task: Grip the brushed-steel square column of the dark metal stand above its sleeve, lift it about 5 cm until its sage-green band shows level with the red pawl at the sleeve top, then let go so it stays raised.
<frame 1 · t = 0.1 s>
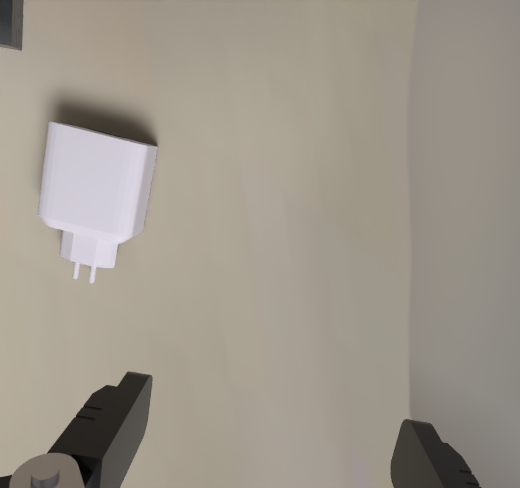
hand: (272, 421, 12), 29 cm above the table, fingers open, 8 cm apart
charger: (105, 206, 41), on the table
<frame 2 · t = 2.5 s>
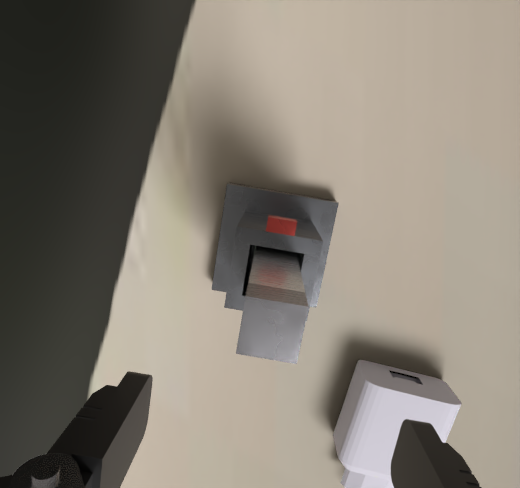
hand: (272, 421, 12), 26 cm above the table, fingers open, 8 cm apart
stand: (273, 244, 37), on the table
column: (272, 277, 27), point 10 cm above the table, slide at 0.0 cm
charger: (376, 428, 42), on the table
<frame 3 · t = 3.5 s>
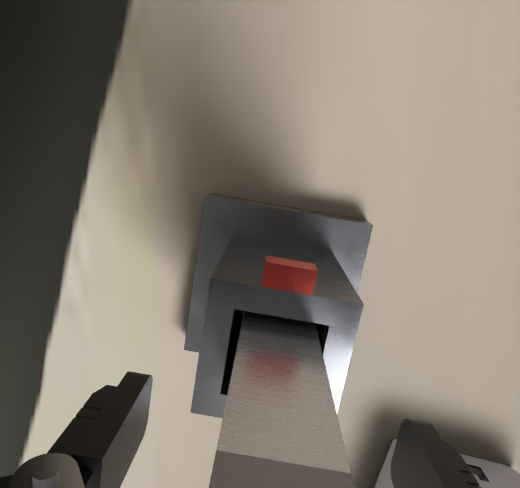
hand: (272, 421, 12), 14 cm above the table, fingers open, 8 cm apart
stand: (274, 282, 26), on the table
column: (273, 367, 15), point 11 cm above the table, slide at 0.0 cm
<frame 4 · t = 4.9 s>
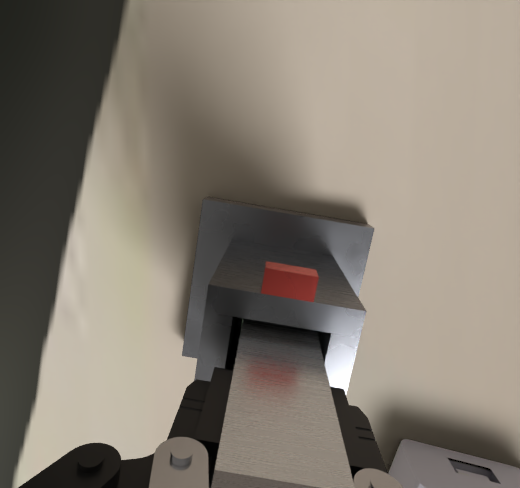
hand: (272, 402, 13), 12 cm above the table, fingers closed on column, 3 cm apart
stand: (273, 286, 25), on the table
column: (273, 376, 15), point 10 cm above the table, slide at 0.0 cm, touching gripper
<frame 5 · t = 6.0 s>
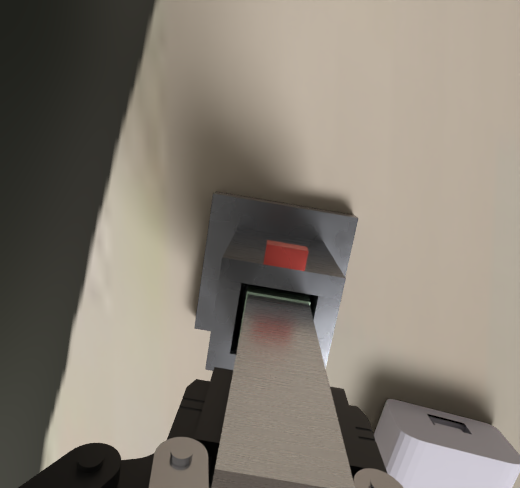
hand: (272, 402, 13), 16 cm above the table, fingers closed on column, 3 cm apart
stand: (273, 269, 29), on the table
column: (273, 376, 15), point 15 cm above the table, slide at 4.1 cm, touching gripper
charger: (406, 482, 33), on the table
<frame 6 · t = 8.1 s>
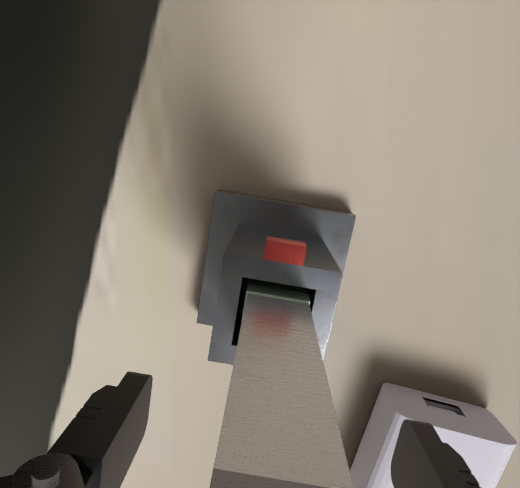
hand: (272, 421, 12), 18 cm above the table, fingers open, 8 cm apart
stand: (273, 265, 30), on the table
column: (272, 375, 15), point 15 cm above the table, slide at 5.0 cm
charger: (402, 465, 34), on the table
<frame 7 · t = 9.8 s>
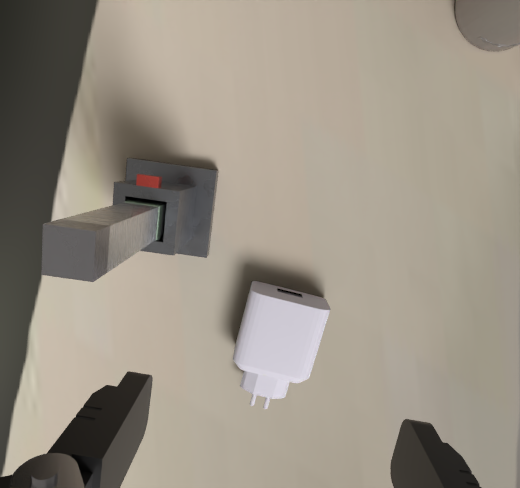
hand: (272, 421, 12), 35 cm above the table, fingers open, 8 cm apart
stand: (171, 207, 46), on the table
column: (122, 229, 31), point 15 cm above the table, slide at 5.0 cm
charger: (273, 342, 49), on the table
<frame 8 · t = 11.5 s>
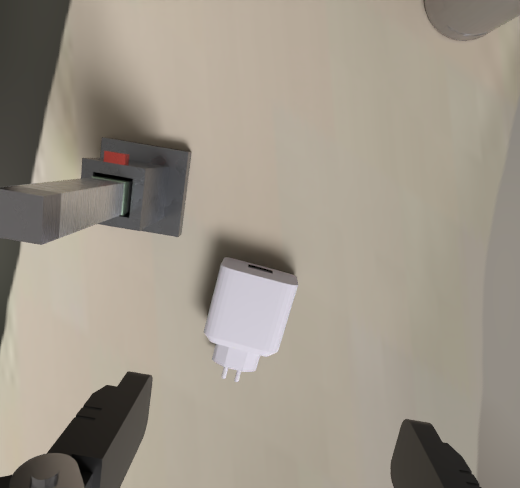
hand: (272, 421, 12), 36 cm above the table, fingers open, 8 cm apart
stand: (145, 187, 47), on the table
column: (84, 201, 32), point 15 cm above the table, slide at 5.0 cm
charger: (245, 318, 51), on the table
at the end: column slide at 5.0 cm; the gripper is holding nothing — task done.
